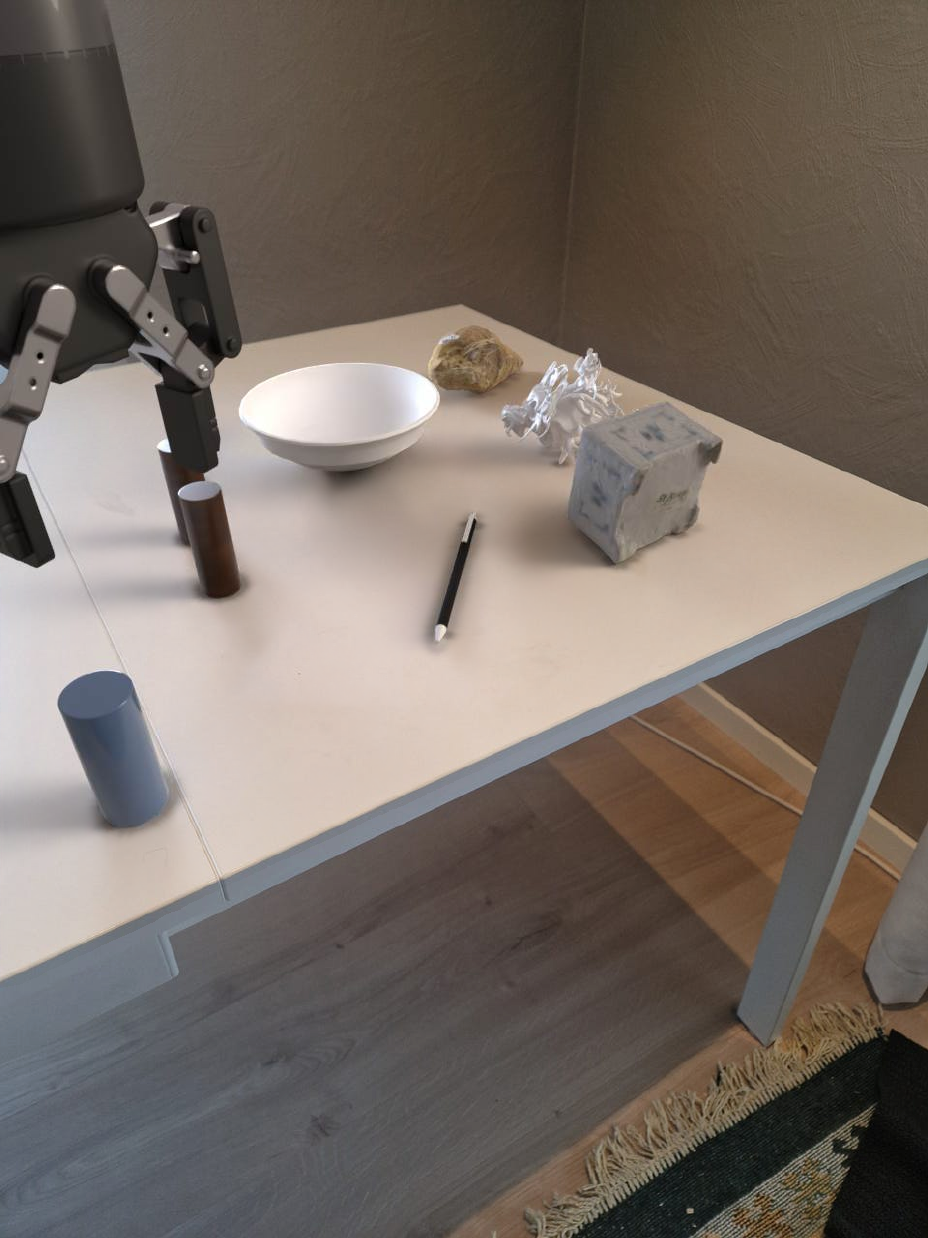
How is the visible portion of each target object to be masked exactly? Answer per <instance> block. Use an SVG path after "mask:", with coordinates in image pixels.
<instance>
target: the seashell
mask: <svg viewBox="0 0 928 1238" xmlns="http://www.w3.org/2000/svg"><path fill="white" fill-rule="evenodd" d="M427 364H428V365H427V373H428V376H429V379H430V382H432V383H433V384H434V385H435V384H436V385H437V386H438V387H440V388H442V389H443V390H446V391H460V390H461V391H462V390H463V391H465V392H466V391H469V392H471V393H474V394H482V393H485V392H488V391H490V390H492V389H493V388H494V387H495V386H496V385H498V384H500V383H502V382H504V381H505V380H506V379H507V378H508V377H509V376H511V375H514V374H517V373H518V372H520V371H521V369H522V368H523V365H524V358H522V357H521V355H519V354H518V353H517V352H516V351H515V350H513V348H511V347H510V346H509V345H508V344H506V343H503V342H502V341H500V338H499V336H497V335H496V334H495V333H494V332H492V331H491V330H489V328H486V327H482V326H479V325H477V324H466V325H463V326H462V327H460V328H457V329H454V330H452V331H448V332H447V333H446V334H443V335H442V336H441V337H440V338H439V340H438V341H437V344H436V346H435V348H434V350H433V352H432V355H431V358H430V359H429V361H428V363H427Z"/></svg>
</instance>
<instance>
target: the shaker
mask: <svg viewBox="0 0 928 1238" xmlns="http://www.w3.org/2000/svg"><path fill="white" fill-rule="evenodd" d="M56 705H57V709H58V711H59V714H60V716H61V719H62V721H63V723H64V726H65V728H66V731H67V733H68V735H69V738H70V740H71V742H72V745H73V747H74V750H75V752H76V754H77V757H78V759H79V762H80V764H81V767H82V769H83V772H84V774H85V777H86V779H87V782H88V783H89V786H90V788H91V791H92V793H93V796H94V799H95V801H96V803H97V807H98V808H99V810H100V812H101V816H102V817H103V819H104V820H105V821H106V822H108V824H110V825H113V826H116V827H120V828H130V827H136V826H140V825H142V824H145V823H148V822H149V821H151V820H152V819H154V818H155V817H157V816H158V815H159V814H160V813H161V812H162V811H163V810H164V809H165V807H166V805H167V804H168V801H169V798H170V790H169V786H168V784H167V781H166V778H165V775H164V772H163V769H162V766H161V763H160V760H159V757H158V754H157V751H156V748H155V745H154V742H153V739H152V736H151V733H150V730H149V727H148V724H147V721H146V718H145V715H144V712H143V709H142V706H141V703H140V699H139V697H138V693H137V690H136V688H135V684H134V682H133V680H132V678H131V677H130V676H129V675H127V674H126V673H124V672H122V671H118V670H115V669H113V670H111V669H103V670H102V669H101V670H96V671H92V672H89V673H85V674H83V675H80V676H78V677H77V678H75V679H73V680H72V681H71V682H69V683H68V684H67V685H65V687H64V688H63V689H62V690H61V691H60V693H59V695H58V697H57V703H56Z"/></svg>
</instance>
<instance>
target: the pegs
mask: <svg viewBox="0 0 928 1238" xmlns="http://www.w3.org/2000/svg"><path fill="white" fill-rule="evenodd" d="M157 452H158V455H159V460H160V464H161V467H162V471H163V475H164V479H165V483H166V487H167V490H168V491H167V492H168V495H169V498H170V503H171V507H172V510H173V514H174V519H175V522H176V526H177V531H178V533H179V538H180V541H181V542H182V543H184V544H186V545H189V546H190V548H191V553H192V556H193V560H194V564H195V569H196V573H197V577H198V581H199V585H200V588H201V592H202V594H203V595H204V596H206V598H211V599H224V598H228V597H231V596H232V595H235V594H236V593H238V591H239V590H240V589H241V587H242V580H241V575H240V570H239V565H238V561H237V556H236V553H235V546H234V543H233V537H232V533H231V528H230V523H229V519H228V514H227V510H226V504H225V499H224V495H223V491H222V486H221V485H220V484H218V483H217V482H215V481H209V480H206V477H205V473H204V474H202V473H199V472H196V471H193V470H190V469H187V468H184V467H181V466H179V465H178V464H177V463H176V462H175V461H174V459H173V457H172V455H171V451H170V447H169V442H168V438H165V439H164V440H161V442H159V443H158V445H157Z"/></svg>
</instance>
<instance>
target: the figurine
mask: <svg viewBox="0 0 928 1238" xmlns="http://www.w3.org/2000/svg"><path fill="white" fill-rule="evenodd" d="M582 360H583V356H582V355H581V356H580V357H579V358H578V359H577V360H576V362H575V363H574V365H573V367H572V371H573V372H575V373H578V374H579V376H578V377H577V379H576V380H574V381H573V382H571V383H569V382H568V380H567V378H568V377H569V374H568V373H569V367H568V365H567V364H565V363H563V364H561V365H559V366H558V367H556V366H557V364H558V361H556V360H554V361H553V362H552V363H551V365H550V366H549V368H548V369H547V371H546V373H545V374H544V375H543V378H542V380H541V381H540V383H537V384H535V385H534V386H533V387H532V389H531V391H530V393H529V395H528V396H527V397H526V398H525V400H524V401H523V402H522V403H521V405H517V404H513V405H510V404H506V405H504V407H503V408H502V411H501V416H500V420H501V421H502V422H503V428H505V434H506V436H507V437H509V438H511V437H512V434H510V432H511V431H512V432H514V434H515V435H516V436H517V437H519V438H520V439H519V441H518V443H521V442H522V441H523V440H524V439H525V438H526V437H527V436H528V435H529V434H530V433H534V434H535V435H537V437H536V440H538V441H539V443H540V444H541V445H542V446H543V447H545V449H547V450H552V451H554V452H561V453H560V456H559V460H558V465H559V466H560V465H562V464H563V462H564V461H565V460H566V458H567V457H568V458H569V459H570V461H571V462H572V463H573V464H574V465H576V459H577V458H576V457H575V452H578V449H579V446H578V445H577V444H576V443H575V437H581V432H582V430H583V429H584V428H585V427H586V426H588V425H591V424H595V423H598V422H601V421H604V420H608V419H611V418H616V417H620V416H622V415H625V413H624V411H623V410H622V409H621V408H620V407H619V406H620V403H617V404H616V403H615V402H614V398H620V397H621V396H622V392H620V391H619V393H618V392H616V389H617V385H618V384H615V385H614V388H613V387H612V382H611V380H610V379H609V378H607V381H608V384H607V383H606V384H605V385H604V381H603V380H601V384H599V385H598V386H597V384H596V380H597V378H598V376H599V375H600V374H601V373H602V366H603V365H602V363H601V359H600V358H599V357H598V352H594V349H593V348H592V347H587V351H586V355H585V357H584V360H583V361H582ZM581 361H582V363H581ZM580 363H581V364H580ZM562 367H563V368H562ZM598 367H600V368H599V369H597V368H598ZM561 368H562V369H561ZM560 369H561V370H560ZM594 372H595V373H594ZM566 373H567V374H566ZM565 374H566V375H565ZM562 376H563V379H561V381H560V382H559V384H558V386H557V387H556V388H555V389H554V390H552V388H553V386H554V385H555V384H556V383H557V382H558V381H559V380H560V378H562ZM603 385H604V386H603ZM606 393H607V394H606ZM604 394H606V395H604ZM608 402H609V404H608ZM645 406H646V407H649V406H650V405H648V404H645ZM519 409H520V411H519ZM638 410H639V409H638V408H636V409H635V411H638ZM631 412H634V410H633V409H632V410H631ZM602 414H603V415H602ZM617 414H620V416H618V415H617ZM527 428H528V430H527V432H526V433H525V430H526V429H527Z"/></svg>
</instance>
